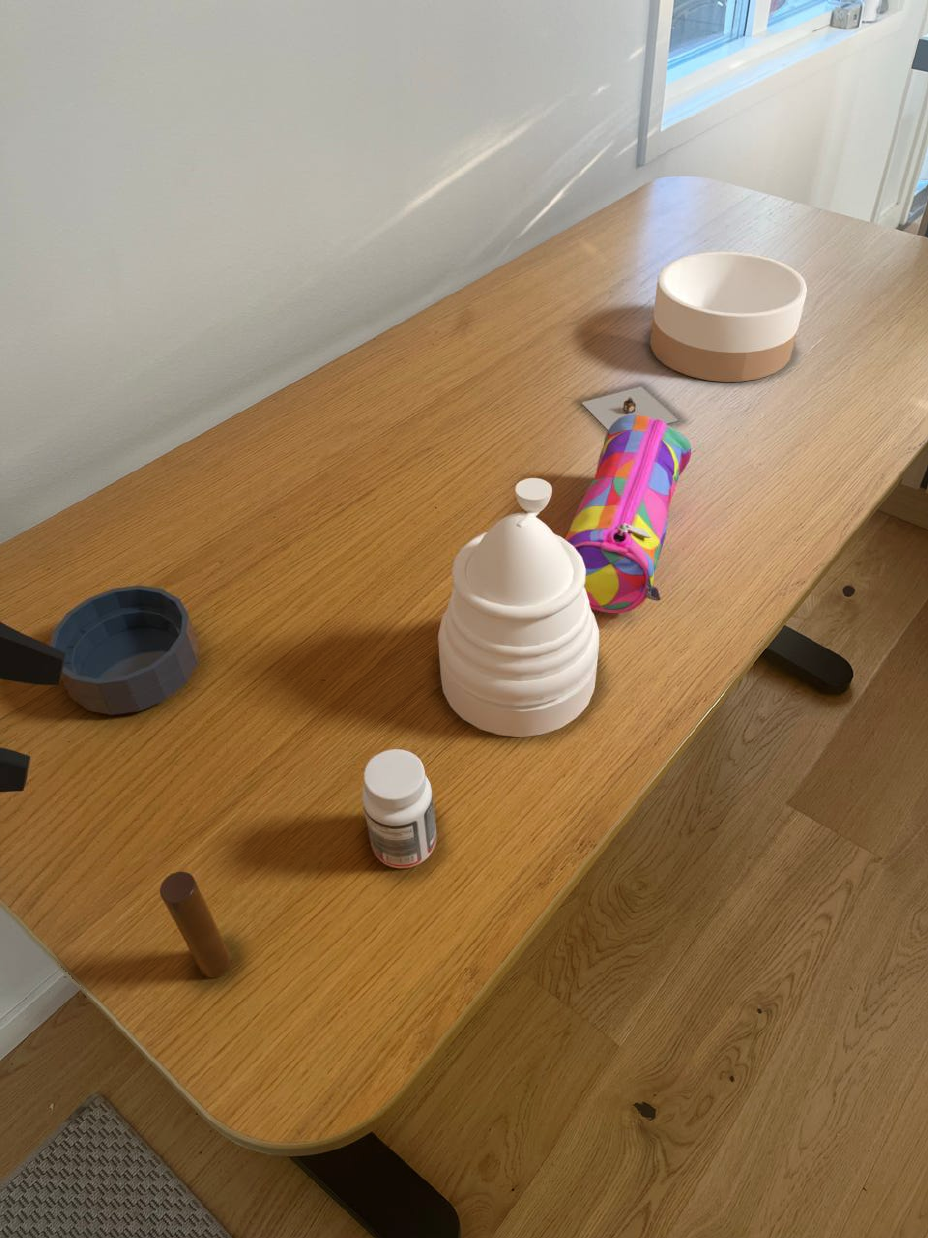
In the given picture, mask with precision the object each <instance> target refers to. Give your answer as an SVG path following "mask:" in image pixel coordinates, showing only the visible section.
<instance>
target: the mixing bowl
mask: <svg viewBox="0 0 928 1238" xmlns="http://www.w3.org/2000/svg"><path fill="white" fill-rule="evenodd" d="M52 630H53V631H52V634H51V638H50V642H49V646H51V647H53V648H56V649H58V650H60V651H62V652H64V653H65V658H64V664H63V670H62V676H61V679H60V681H61V682H62V684H63V686H64V688H65V689H66V692H67V694H68V696H69V697H70V699H71V700H72V701H74V702H75V703H77V704H78V705H80V706H81V707H82V708H84V709H85V710H86V711H89V712H94V713H100V714H105V715H109V716H112V715H113V716H114V715H120V714H121V715H122V714H129V713H137V712H141V711H144V710H147V709H148V708H151V707H153V706H156V705H158V704H160V703H163V702H165V701H166V700H168V699H169V698H171V697H172V696H173V695H174V694H175V693H176V692H177V691H179V690H180V689H181V688H183V687H184V686H185V685H186V684H187V683H188V681H189V679H190V678H191V676H192V674H193V673H194V671H195V670H196V668H197V666H198V664H199V654H200V653H199V652H200V645H199V641H198V639H197V636H196V633H195V630H194V627H193V623H192V620H191V618H190V615H189V613H188V611H187V609H186V607H185V606H184V604H183V602H182V600H181V599H180V598H179V597H178V596H176V595H174V594H172V593H170V592H169V591H167V590H165V589H163V588H159V587H152V586H146V585H140V584H139V585H132V586H123V587H115V588H111V589H108V590H105V591H103V592H100V593H98V594H95V595H92V596H90V597H88V598H86V599H85V600H84V601H82V602H80V603H79V604H78V605H76V606H75V607H74V608H72V609H70V610H69V611H67V612H66V614H65V615H64V616H63V618H62V619H61V620H60V621H59V622H58V624H57V625H56V626H55V628H54V629H52Z"/></svg>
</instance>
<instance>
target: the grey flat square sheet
mask: <svg viewBox="0 0 928 1238" xmlns="http://www.w3.org/2000/svg"><path fill="white" fill-rule="evenodd" d="M581 405H582V406H584V408H585V409H587V410H588V411H589V412H590V414H591V415H593V417H594V418H596V419H597V420H598V422H599V423H601V425H602V426H603V427H604V428H605V429H606V430H607V431H608V430H609V428H610V427H611V425H612V424H613V423H614V422H615V421H616V420H617V419H619V418H621V417H623V416H626V415H642V416H647V417H650V418H652V419H654V420H657V419H659V420H662V421H663V423H665V424H667V425H668V424H670V423H674V422H678V421H679V419H678V418H676V417H675V416H674V414H672V413H671V412H670V411H669V410H667V408H665V406H664V405H662V404H661V403H660V402H659V401H658V400H657V399H655V398H654V397H653V396H652V395H651V394H650V393H649V392H648V391H646V389H644V387H642V386H637V387H633V388H630V389H627V390H623V391H619V392H616V393H611V394H608V395H605V396H600V397H597V398H593V399H590V400H585V401H582V402H581Z"/></svg>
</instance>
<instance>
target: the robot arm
mask: <svg viewBox="0 0 928 1238" xmlns="http://www.w3.org/2000/svg"><path fill="white" fill-rule="evenodd" d="M64 658H65V653H64V652H62V651H60V650H58V649H56V648H53V647H51V646H50V644H46V643H44V642H42V641H40V640H38V639H35V638H34V637H31V636H29V635H27V634H24V633H23V632H21V631H19V630H16V629H15V628H13V627H11V626H9V625H8V624H6V623H3V622H2V621H0V680H5V681H12V682H19V683H25V684H31V685H39V686H59V685H60V682H61V676H62V670H63V664H64ZM30 761H31V755H27V754H25V753H22V752H19V751H17V750H12V749H9V748H4V747H1V746H0V793H13V792H14V793H15V792H16V793H17V792H24V790H25V787H26V784H27V781H28V776H29V773H28V772H29V768H30Z"/></svg>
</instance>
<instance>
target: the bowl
mask: <svg viewBox="0 0 928 1238" xmlns="http://www.w3.org/2000/svg"><path fill="white" fill-rule="evenodd" d="M807 294H808V289H807V283H806V281H805V279H804V278H803V276H802V275H801V274H800V273H799V272H798V271H796V270H795V269H793V268H792V267H790V266H789V265H787V264H785V263H782V262H780V261H778V260H775V259H773V258H769V257H767V256H762V255H758V254H754V253H748V252H747V253H746V252H739V251H708V252H707V251H706V252H699V253H693V254H689V255H685V256H682V257H681V258H676V259H675V260H673V261H671V262H669V263H667V264H666V266H664V267H663V268H662V269H661V270H660V273H659V274H658V276H657V283H656V290H655V297H654V298H655V299H654V308H653V315H652V316H653V317H652V325H651V335H650V342H649V344H650V347H651V351H652V353H653V355H654V356H655V357H656V358H657V359H658V360H659V361H660V362H661V363H662V364H663V365H664V366H666V367H668V368H669V369H671V370H673V371H675V372H677V373H680V374H682V375H685V376H688V377H692V378H695V379H699V380H705V381H709V382H720V383H721V382H722V383H740V382H750V381H755V380H759V379H763V378H767V377H769V376H771V375H774V374H776V373H778V372H779V371H780V370H782V369H783V368H784V367H785V366H786V365H787V364H788V363H789V361H790V359H791V358H792V357H791V356H792V353H793V350H794V345H795V342H796V337H797V333H798V329H799V326H800V322H801V319H802V315H803V310H804V306H805V302H806V298H807Z"/></svg>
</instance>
